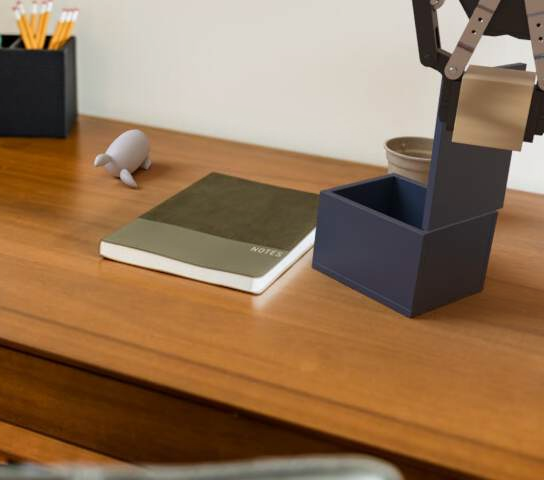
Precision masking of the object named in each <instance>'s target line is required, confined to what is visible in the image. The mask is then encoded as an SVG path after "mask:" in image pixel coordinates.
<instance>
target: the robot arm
mask: <svg viewBox="0 0 544 480" xmlns="http://www.w3.org/2000/svg"><path fill="white" fill-rule="evenodd" d="M458 1H459V3H460V6H461V7H462V9H463V11H464V13H465V15H466V17H467V18H468V22H467V24H466V26H465V28H464V30H463V32H462V33H461V36H460V37H459V39H458V41H457V44H456V46H455V48H454V50H453V51H452V52H449V51H446V49H443V48H442V42H441V33H440V27H439V19H438V9H440V8H441V7H442V6H443V5H444V4H445V3H446V0H411V5H412V13H413V19H414V28H415V35H416V42H417V50H418V57H419V63H420V64H421V65H422V66H423V67H425V68H430V69H433V70H434V71H436V72H438V73H439V74H440V75H441V78H442V77H443V87H442V93H441V99H440V106H439V112H438V116H439V120H440V122H446V131H452V132H453V131H454V125H455V119H456V113H457V107H458V101H459V95H460V89H461V83H462V77H463V76H464V71H466V67H467V65H468V63H469V62H470V59H471V58H472V56H473V54H474V52H475V50H476V49H477V46H478V45H479V43H480V41H481V39H482V37H484V36H485V37H493V38H495V37H502V36H510V37H512V38H515V39H517V40H521V41H522V40H523V41H530V44H531V52H532V56H533V60H534V67H535V72H536V82H535V83H534V88H533V93H532V98H531V103H530V108H529V113H528V118H527V123H526V128H525V133H524V139H523V143H529V144H533V143H534V140H535V139H534V138H535V136H539V137H542V136H543V135H544V0H458Z"/></svg>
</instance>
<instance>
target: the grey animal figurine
mask: <svg viewBox="0 0 544 480" xmlns="http://www.w3.org/2000/svg"><path fill="white" fill-rule="evenodd" d="M150 151H151V141H150V139H149V137H148V136H147V134H146V133H144V132H143V131H141V130H139V129H130V130H126V131H124V132H123V133H121V134H120V135H119V136H118V137H117V138H116V139H115V140H114V141H112V143H110V145H109V147H108V148H107V149H106V151H105V153H101V154H98V155H96V157H95V158H94V161H93V162H94V164H93V165H94V167H95V168H101V167H104V168H105V170H106V171H107V172H108V173H109V174H111V176H113V177H115V178H120V180H121V181H122V182H123V183H124V184H126V185H127V186H130V187H132V188H137V187H138V185H137V182H136V181H135V179H134V178H133V175H132V174H133V173H134V172H135V171H136V170H137V169H138V168H141V169H144V170H146V171H147V170H148V169H149V168H150V167H151V166H152V160H151V157H150Z"/></svg>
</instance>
